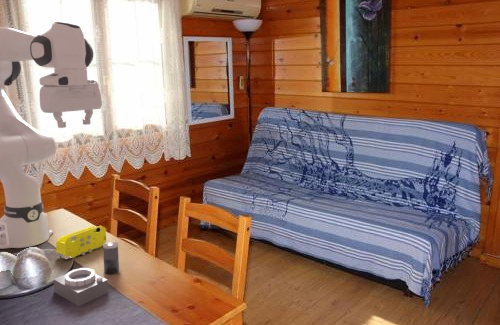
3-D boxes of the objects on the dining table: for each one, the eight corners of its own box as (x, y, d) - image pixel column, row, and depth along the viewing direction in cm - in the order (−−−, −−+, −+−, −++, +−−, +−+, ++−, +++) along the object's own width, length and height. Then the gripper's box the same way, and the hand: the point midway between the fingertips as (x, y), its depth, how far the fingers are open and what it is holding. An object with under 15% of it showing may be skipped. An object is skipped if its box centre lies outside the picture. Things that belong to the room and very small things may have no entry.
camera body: (54, 292, 116) (52, 274, 114) (83, 279, 123) (82, 262, 122) (79, 306, 109) (77, 287, 108) (108, 292, 116) (107, 274, 115)
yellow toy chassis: (67, 262, 134) (65, 238, 132) (56, 258, 137) (54, 234, 135) (107, 246, 147) (106, 224, 145) (97, 242, 150) (95, 221, 148)
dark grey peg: (101, 272, 128) (99, 244, 126) (113, 266, 131) (112, 240, 130) (110, 276, 125) (108, 248, 124) (122, 270, 129) (120, 244, 127)
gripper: (90, 79, 132) (92, 122, 135) (34, 79, 114) (38, 128, 116) (105, 79, 129) (107, 123, 132) (50, 79, 111) (54, 130, 114)
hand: (74, 126), depth 124 cm, fingers open, 8 cm apart
